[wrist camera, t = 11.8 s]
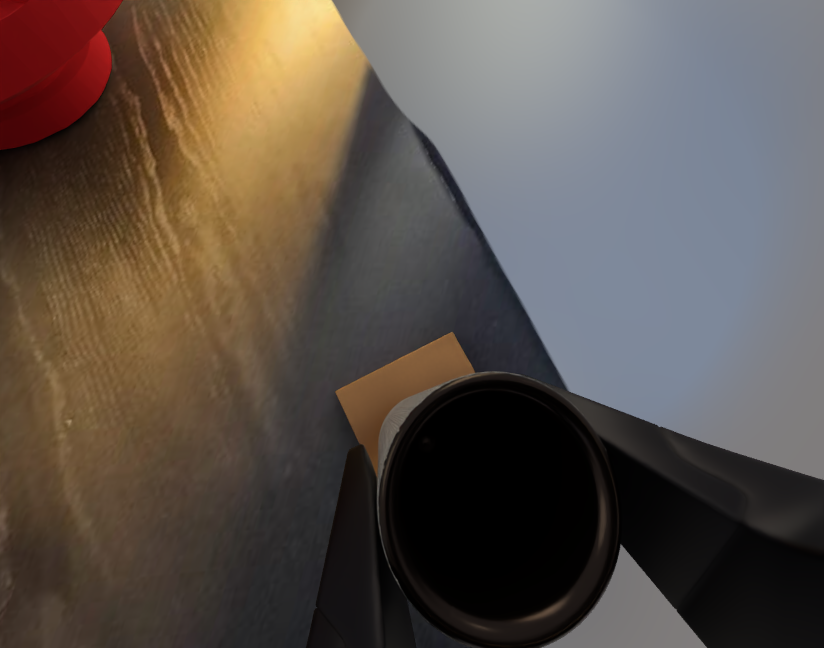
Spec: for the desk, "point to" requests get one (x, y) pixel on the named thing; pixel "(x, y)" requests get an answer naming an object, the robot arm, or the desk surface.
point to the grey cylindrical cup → (497, 510)
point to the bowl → (50, 65)
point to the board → (399, 387)
